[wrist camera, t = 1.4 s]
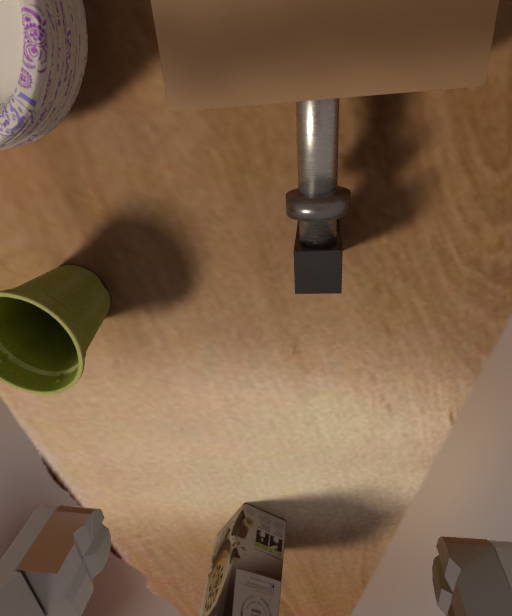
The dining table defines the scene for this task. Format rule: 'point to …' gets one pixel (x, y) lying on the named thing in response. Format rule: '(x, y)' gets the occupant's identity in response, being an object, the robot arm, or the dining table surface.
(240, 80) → the block
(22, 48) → the paper bowls
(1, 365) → the plant pot
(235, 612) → the coffee box
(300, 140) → the metal shaft with collar
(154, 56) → the dining table surface
